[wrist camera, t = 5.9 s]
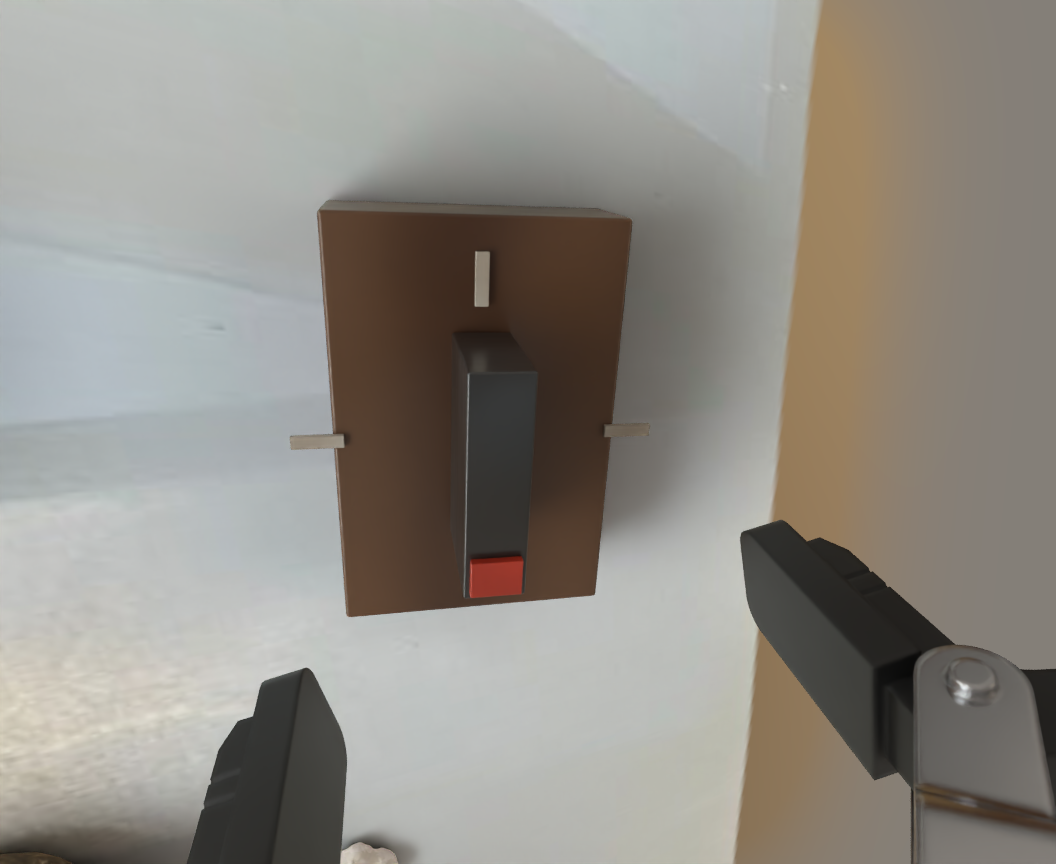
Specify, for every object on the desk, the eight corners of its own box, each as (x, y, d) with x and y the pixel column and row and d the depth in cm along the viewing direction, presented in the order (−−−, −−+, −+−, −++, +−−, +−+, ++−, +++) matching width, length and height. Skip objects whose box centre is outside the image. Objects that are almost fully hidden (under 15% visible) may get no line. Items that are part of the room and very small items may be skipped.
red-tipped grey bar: (452, 331, 18) (468, 376, 14) (511, 331, 18) (541, 375, 15) (449, 527, 20) (464, 605, 17) (502, 525, 20) (527, 600, 17)
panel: (634, 209, 21) (675, 220, 18) (600, 545, 25) (629, 596, 22) (284, 198, 19) (266, 208, 16) (317, 565, 23) (308, 625, 20)
